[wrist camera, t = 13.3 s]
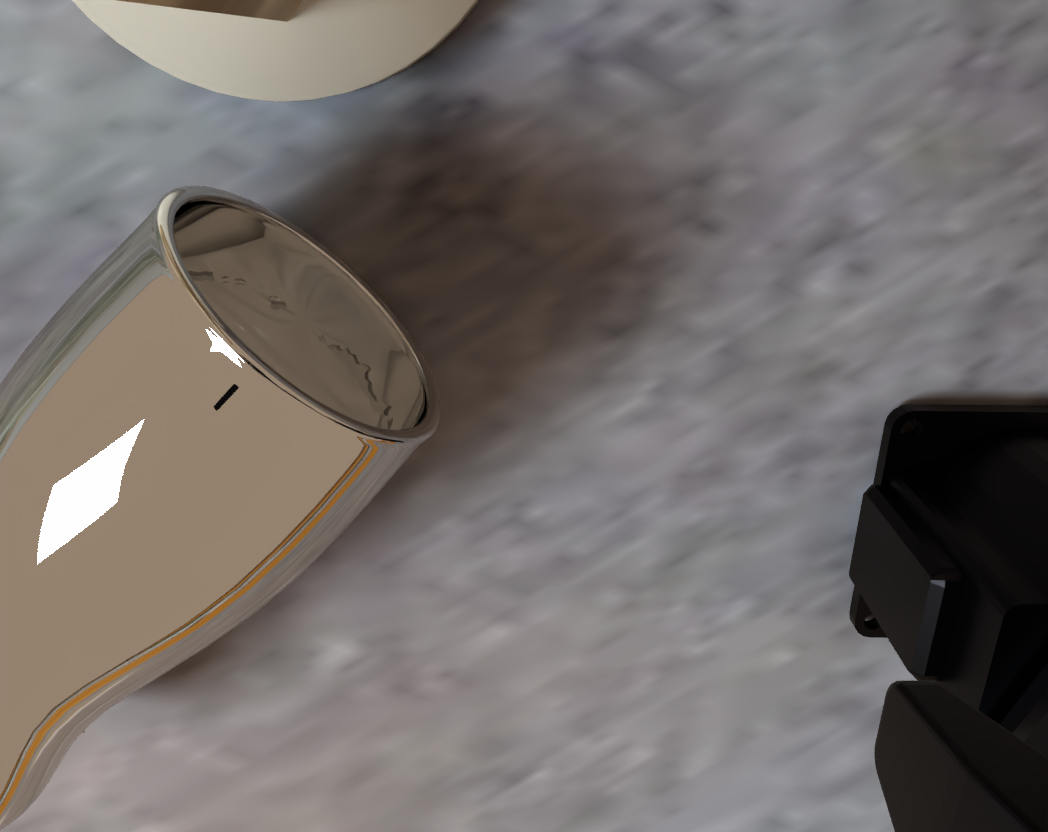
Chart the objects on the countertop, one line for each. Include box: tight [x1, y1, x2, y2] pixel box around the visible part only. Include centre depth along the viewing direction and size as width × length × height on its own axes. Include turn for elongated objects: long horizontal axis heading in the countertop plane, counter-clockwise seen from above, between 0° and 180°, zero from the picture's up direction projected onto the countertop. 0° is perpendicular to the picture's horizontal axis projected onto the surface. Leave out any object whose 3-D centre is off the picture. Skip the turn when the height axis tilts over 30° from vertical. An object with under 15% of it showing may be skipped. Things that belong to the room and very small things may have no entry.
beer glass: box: [0, 186, 441, 830], centre depth 19 cm, size 7×7×15 cm
